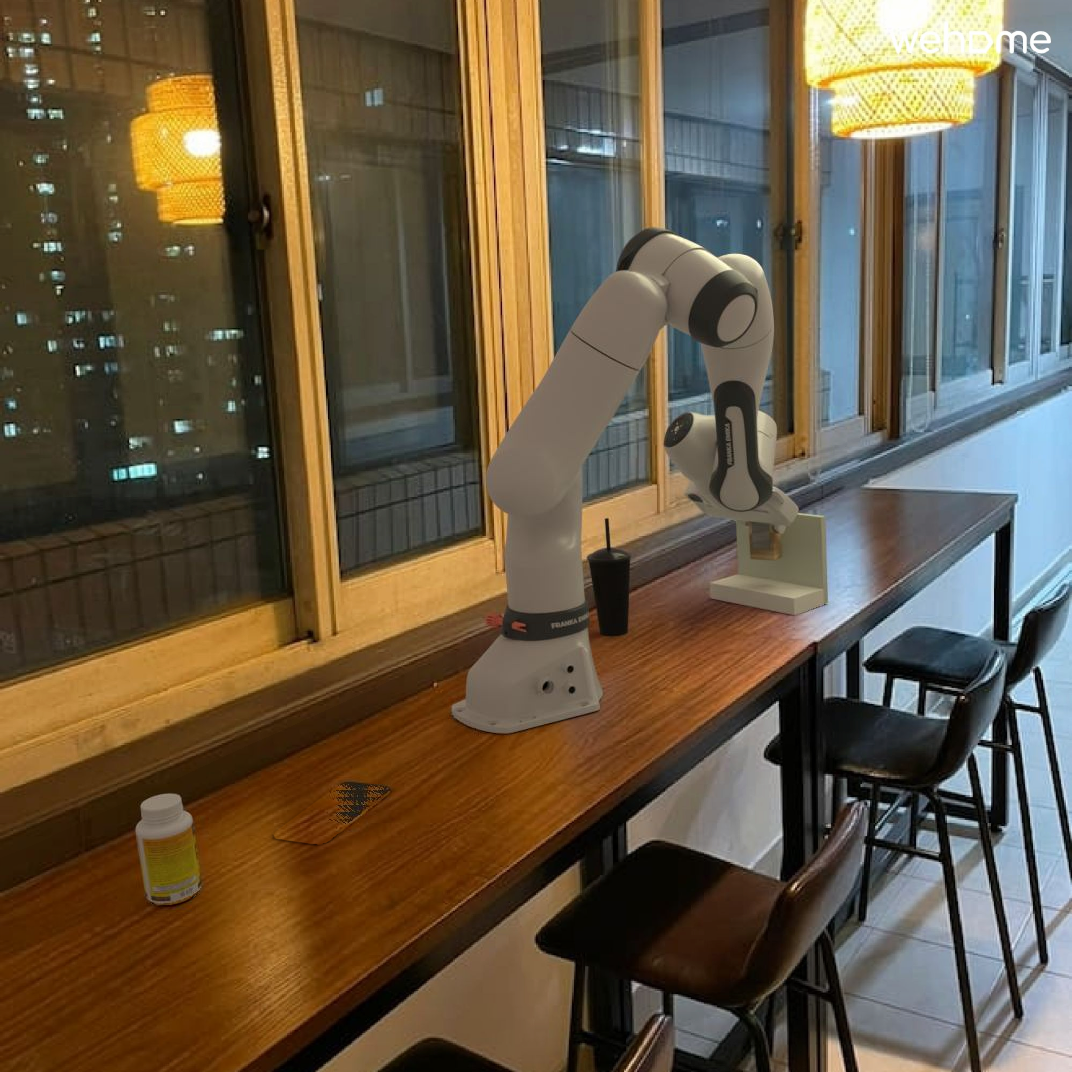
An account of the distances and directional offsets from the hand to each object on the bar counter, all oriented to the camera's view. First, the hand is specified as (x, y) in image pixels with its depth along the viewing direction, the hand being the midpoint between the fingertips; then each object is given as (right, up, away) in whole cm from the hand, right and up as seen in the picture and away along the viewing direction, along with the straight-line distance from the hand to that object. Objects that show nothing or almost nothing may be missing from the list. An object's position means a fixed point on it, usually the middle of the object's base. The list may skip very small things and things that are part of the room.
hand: (766, 528), depth 206 cm
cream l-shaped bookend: (0, -13, +2) cm, 14 cm away
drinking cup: (-28, -18, -9) cm, 35 cm away
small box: (0, -5, +1) cm, 5 cm away
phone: (-65, -34, -73) cm, 104 cm away
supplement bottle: (-79, -38, -90) cm, 125 cm away
